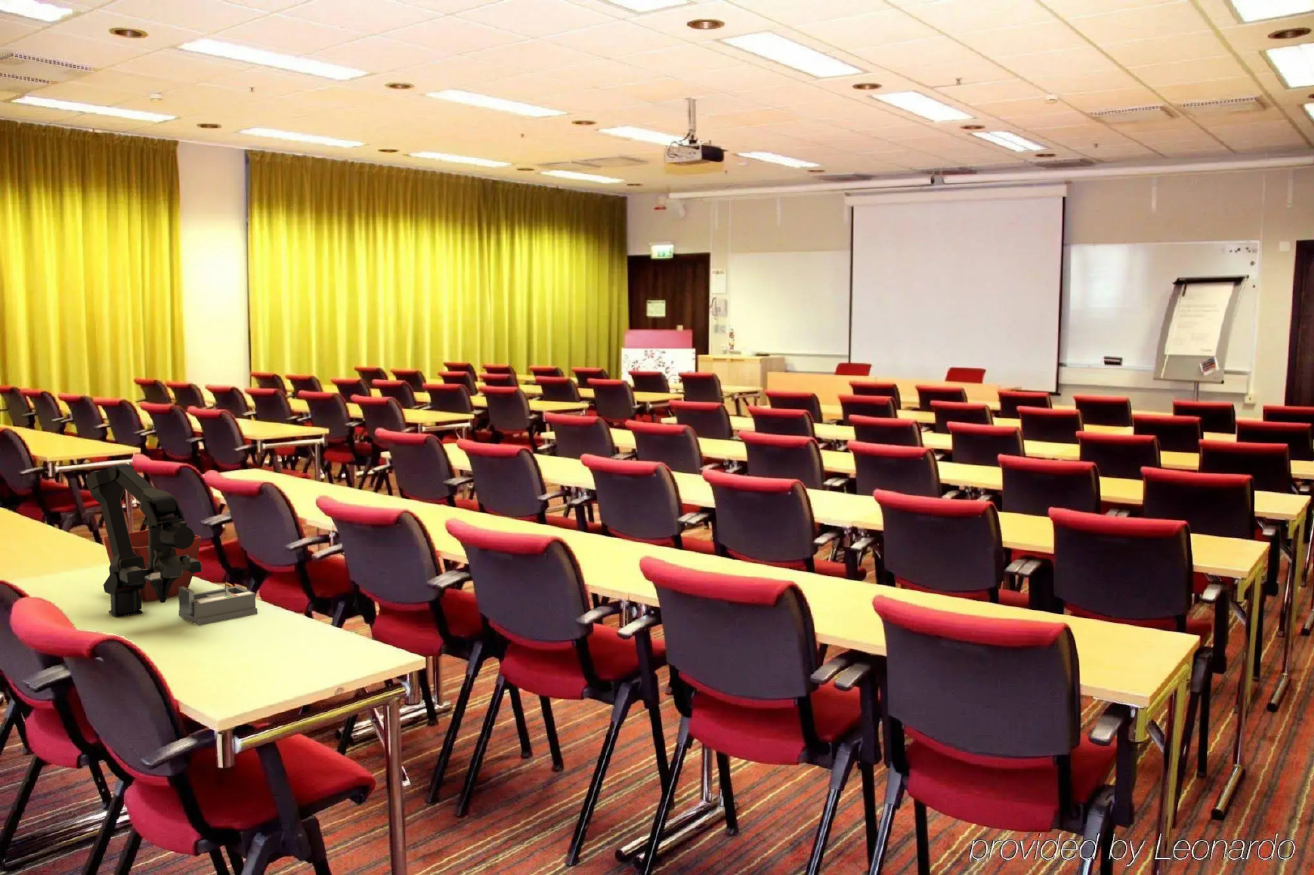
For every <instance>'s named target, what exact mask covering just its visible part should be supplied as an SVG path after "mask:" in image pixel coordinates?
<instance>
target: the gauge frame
mask: <svg viewBox="0 0 1314 875" xmlns="http://www.w3.org/2000/svg"><path fill="white" fill-rule="evenodd" d="M220 592H225V587H224V588H219V589H214V590H213V589H212V590H207V591H202V592H201V591H200V592H196V593H194V600H195V599H201V598H206V595H209V594H215V593H220ZM228 592H231V593H233V594H231V595H225V596H222V597H217V598H211V599H206V600H200V601H197V602H198V603H194V614H190V615H189V614H188V613H186V612H184V611H182V610H180V609H178V616H179V617H180V618H183V619H184V620H187V621H189V622H191V623H193V624H194V623H195V624H194V625H197V626H203V625H208V624H211V623H218V622H222V621H224V622H225V621H228V619H229V620H233V619H238V618H243V617H247V616H254V615H258V607H256V604H257V603H256V602H257V601H256V593H255V592H254V591H251V590H249V589H247V588H244V587H242V586H240V585H235V586H233V587H231V588H230V587H228Z"/></svg>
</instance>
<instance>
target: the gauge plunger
mask: <svg viewBox="0 0 1314 875" xmlns="http://www.w3.org/2000/svg"><path fill="white" fill-rule="evenodd" d="M229 587H230V588H231V587H234V585H233V584H231V583H229V582H225V583H224V588H225V592H220V593H215V594H209V595H206V598H201V599H195V600H194V594H195V593H194V590H191V589H189V587H188V588H186V587H179V595H178V610H182V611H184V612H186V613H188V614H189V615H190V614H194V603H198V602H197V601H200V600H206V599H211V598H217V597H222V596H225V595H231V594H233V593H231V592H228V588H229Z"/></svg>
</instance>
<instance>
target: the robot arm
mask: <svg viewBox="0 0 1314 875" xmlns="http://www.w3.org/2000/svg"><path fill="white" fill-rule="evenodd" d="M85 484H86V486H87V488H88V490H89V493H90V496H91V498H93V499H94V501H96V502H97V503H98V504H99V505H100V509H101V512H102V516H103V520H104V524H105V529H106V534H107V536H108V538H109V542H110V546H111V550H112V554H113V559H112V561H111V564H110V565H109V567H108V571H109V575H108V577H107V579H106V580H105V582H104V583H103V584H102V586H103V590H104V594H105V593H106V594H109V595H110V610H108V613H109V614H111V615H112V616H114V617H116V618H122V617H128V616H133V615H139V614H142V613H143V610H142V601H141V594H139V589H144V588H145V583H146V580H147V581H149V582H150V584H151V585H152V587H153V589H154V590H155V593H156V595H157V597H158V599H157V600H158V601H159V603H161V604H165V603H166V600H167V598H168V597H167V596H168V593H169V590H170V587H171V585H172V583H173V582H174V581H175V580H176V579H178V578H180V576H181V575H182V572H183V570H187V571H189V572H190V573H193V574H195V573H201V572H203V564H202V562H201V561H200V560H198V559H197V560H196V559H194V558H190V557H189V556H188V555H183V556H178V557H177V555H176V550H175V548H178V549H187V548H189V547H190V546H191V545H192V544H193V542H194V538H195V535H196V534H194V531H193V530H192V529H191V528H190V527H189V526H188V523H187V521H186V520H185V517H184V513H183V511H182V510H181V507H180V505H179V503H178V501H177V499H176V498H175V496H174V495H173V494H171V493H170V492H167V491H166V490H161V489H157V488H155V487H154V486H153V485H152V484H151V483H149V482H148V480H146V479H145V478H144V477H143V476H142V475H140V473H139V472H137V471H136V470H135V469H134V467H133V465H132V464H129V463H123V464H122V463H121V464H114V465H112V466H109V467H107V468H105V469H101V470H94V471H91V472H90V474H89V475H88V476H87V477H86V480H85ZM124 491H127V492H128V493H129V494H130V495H131V496H132V497H133V498H134V499H136V500H137V501H138V503H139V510H140V512H142V514H143V515H144V516H145V517H146V520H144V522H143V525H145V526H147V530H148V540H149V547H147V551H149V562H147V566H148V567H149V568H148V569H146V567H145V564H144V558H143V557H142V556H137V555H136V554H135V553H134V552H133V549H132V545H131V541H130V536H129V533H130V531H129V529H128V524H127V521H126V517H125V513H124V507H123V505H122V498H123V495H124ZM158 570H159V571H158ZM154 571H155V572H154Z"/></svg>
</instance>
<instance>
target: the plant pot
mask: <svg viewBox="0 0 1314 875" xmlns="http://www.w3.org/2000/svg"><path fill="white" fill-rule="evenodd" d="M194 535H195V538H194V542H193V544H192V545H191V546H190V547H189V548H187V549H178V548H175V550H176V555H177V557H178V556H183V555H188V556H189V557H190V558H194V559H196V560H198V558H199V552H200V546H201V541H202V540H201V539H202V537H201V535H197V534H194ZM129 536H130V541H131V545H132V549H133V552H134V553H135V554H136V555H137V556H142V557H143V558H144V564H145V567H146V569H148V568H149V567H148V566H147V562H149V551H147V547H149V540H148V529H144V530H140V531H139V530H138V531H133V532H129ZM103 540H104V545H105V550H106V554H107V556H108V560H109V562H110V564H111V561H112V559H113V554H112V550H111V546H110V542H109V538H108V535H106V536H104V537H103ZM158 571H159V570H158ZM154 572H155V571H154ZM193 577H194V573H190V572H189V571H187V570H183V572H182V575H181V576H180V578H178V579H176V580H175V581H174V582H173V583H172V585H171V587H170V590H169V593H168V596H167V598H169V597H173V596H179V587H186V588H188V589H189V587H190V584H191V582H192V578H193ZM139 594H141V602H151V601H155V600H159V599H158V597H157V595H156V593H155V590H154V589H153V587H152V585H151V584H150V582H149V581H147V580H146V583H145V588H144V589H139Z"/></svg>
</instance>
